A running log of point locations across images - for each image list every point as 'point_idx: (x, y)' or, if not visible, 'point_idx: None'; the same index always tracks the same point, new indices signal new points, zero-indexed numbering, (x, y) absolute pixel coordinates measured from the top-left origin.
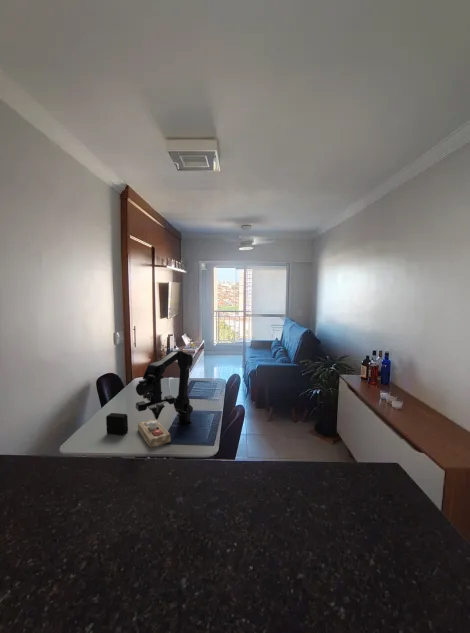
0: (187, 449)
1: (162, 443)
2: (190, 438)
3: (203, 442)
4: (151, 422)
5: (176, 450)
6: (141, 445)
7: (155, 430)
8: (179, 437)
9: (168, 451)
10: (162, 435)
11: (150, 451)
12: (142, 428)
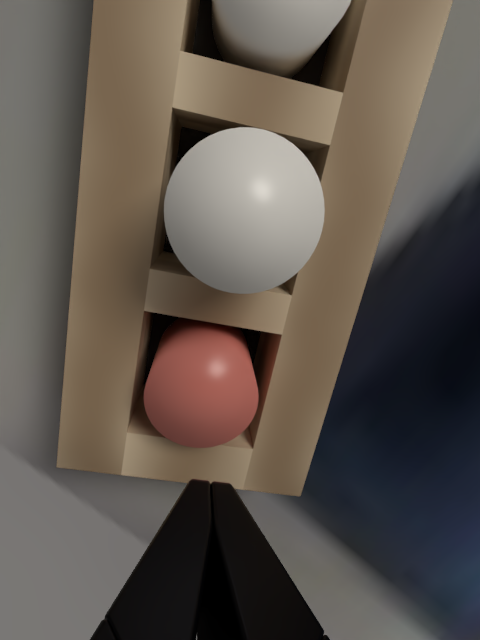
0: None
1: None
2: (439, 497)
3: (450, 597)
4: (216, 195)
5: None
6: (25, 308)
7: (193, 360)
8: (393, 425)
9: None
10: (218, 468)
11: None
12: (99, 62)
